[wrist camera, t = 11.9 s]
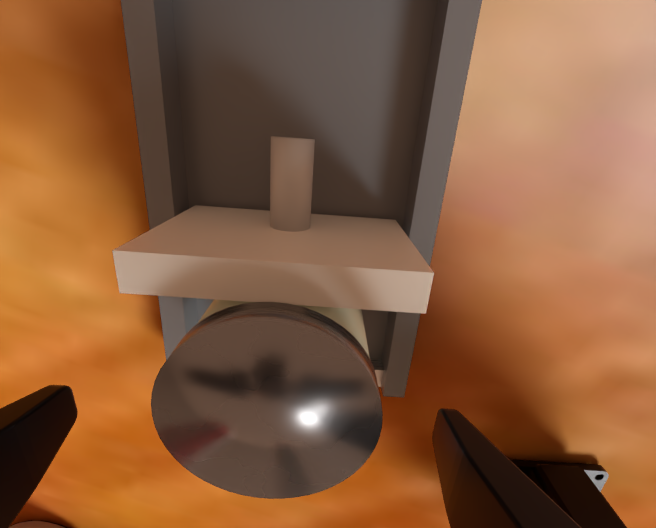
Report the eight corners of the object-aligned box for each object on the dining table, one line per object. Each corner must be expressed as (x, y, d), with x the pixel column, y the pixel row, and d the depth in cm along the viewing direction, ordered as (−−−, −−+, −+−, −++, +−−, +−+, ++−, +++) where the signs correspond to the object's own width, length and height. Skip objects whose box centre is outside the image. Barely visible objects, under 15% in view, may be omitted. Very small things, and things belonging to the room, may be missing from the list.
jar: (355, 358, 17) (370, 502, 10) (230, 352, 17) (166, 494, 10) (366, 239, 15) (396, 328, 8) (222, 232, 14) (133, 315, 8)
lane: (396, 369, 18) (417, 445, 13) (186, 355, 18) (139, 428, 13) (475, -74, 11) (565, -201, 7) (140, -103, 11) (18, -254, 7)
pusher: (391, 247, 14) (425, 313, 9) (197, 233, 14) (119, 292, 9) (406, 145, 13) (458, 154, 8) (189, 128, 13) (91, 126, 7)
